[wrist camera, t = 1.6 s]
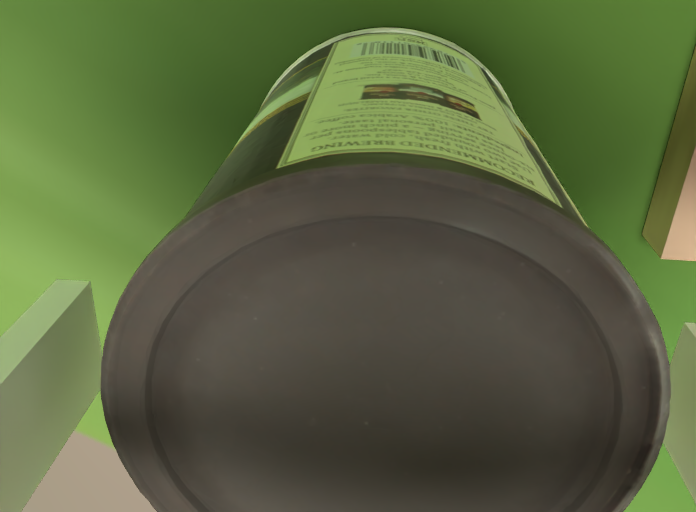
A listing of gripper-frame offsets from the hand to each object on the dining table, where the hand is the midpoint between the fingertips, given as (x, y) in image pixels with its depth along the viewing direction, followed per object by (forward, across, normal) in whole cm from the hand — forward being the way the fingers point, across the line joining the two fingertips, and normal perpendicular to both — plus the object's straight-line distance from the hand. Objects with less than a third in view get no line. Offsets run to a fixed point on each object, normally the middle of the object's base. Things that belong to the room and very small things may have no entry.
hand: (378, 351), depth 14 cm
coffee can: (+11, 0, 0) cm, 11 cm away
